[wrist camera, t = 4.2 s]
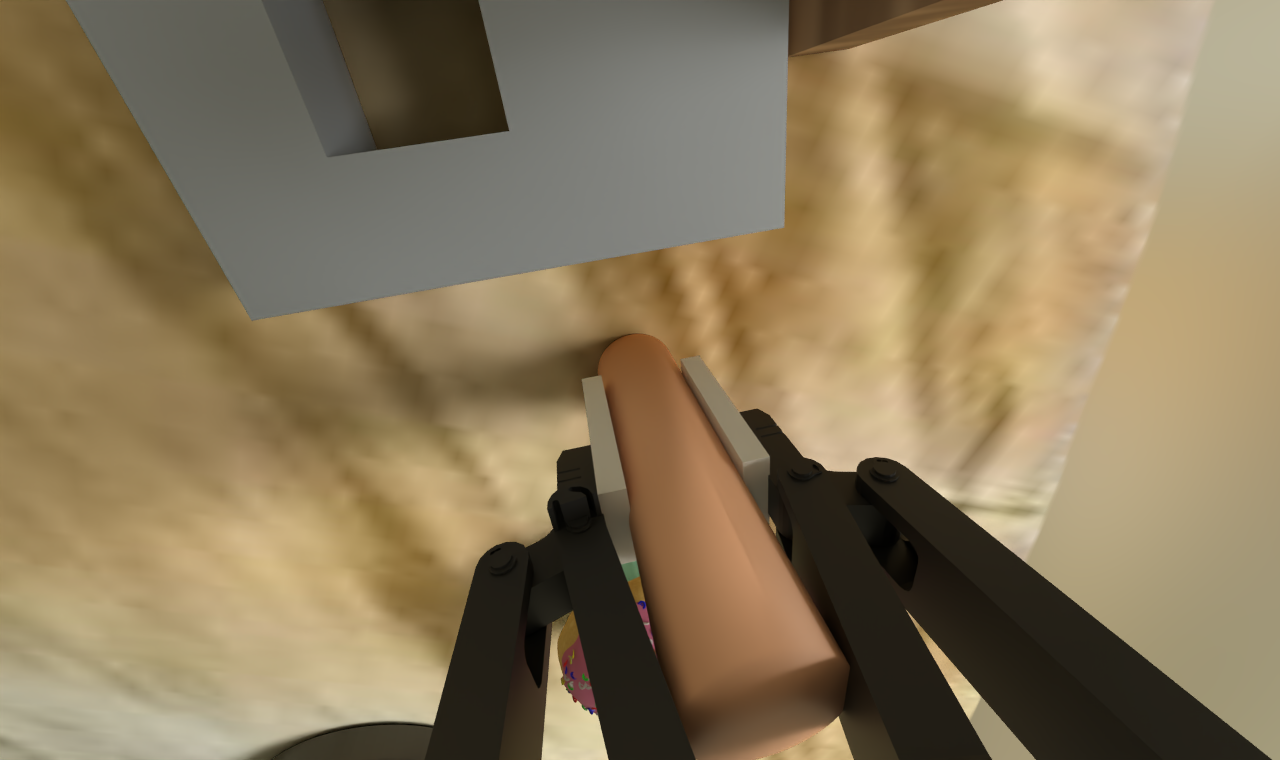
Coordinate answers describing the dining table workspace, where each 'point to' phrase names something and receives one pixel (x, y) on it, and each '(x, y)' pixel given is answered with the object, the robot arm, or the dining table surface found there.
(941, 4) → the wooden t-shaped stand
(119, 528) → the dining table surface
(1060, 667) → the robot arm
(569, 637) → the cupcake
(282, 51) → the socket block
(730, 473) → the peg
